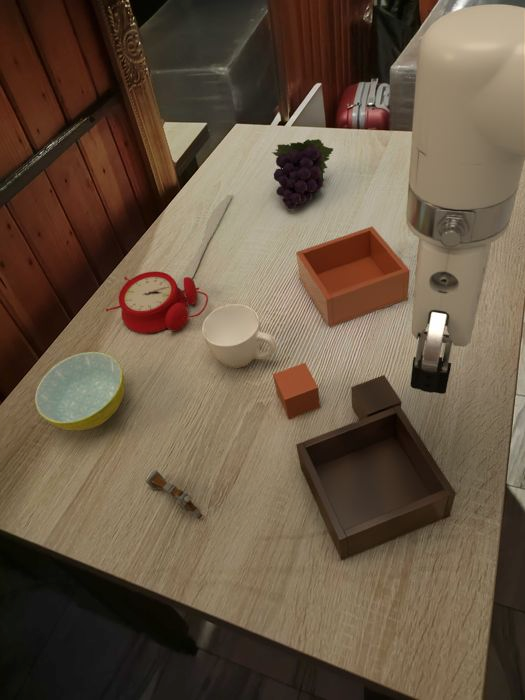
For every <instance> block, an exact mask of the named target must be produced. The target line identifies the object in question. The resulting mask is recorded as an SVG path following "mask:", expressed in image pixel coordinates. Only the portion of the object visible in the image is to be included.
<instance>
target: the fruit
mask: <svg viewBox="0 0 525 700" xmlns="http://www.w3.org/2000/svg"><path fill="white" fill-rule="evenodd" d="M276 146H277V148H276V149H275V151H273V152H271V153H272V154H273V155H274V156H275V157H276V159H275V163H276V166H277V167H278V168H276V169H275V170H274V173H273V179H274V180H275V182H278V185H280V186H278V187H277V189H276V190H275V192H276V195H278V196H280V197H282V202H283V204H284V205H285V207H286V208H287V209H288V210H290V211H291V210H294V209H295V208H296V207H297V204H298V205H304V203H305V202H308V201H310V200H312V196H313V195H312V193H318V192H319V191H320V190H322V188H323V187H324V182H325V179H324V174H326V171H325V169H328V165H327V164H326V162H327V161H329V160H330V158H329V157H331V156H330V155H332V152H333V151H334V148H333V147H327V146H325V145H324V142H322V140H321V139H319V138H317V139H311V140H310V139H306V140H305V141H303V142H300V141H297V142H290V143H287V144H284V143H283V144H277V145H276Z"/></svg>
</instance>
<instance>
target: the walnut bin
mask: <svg viewBox="0 0 525 700" xmlns="http://www.w3.org/2000/svg"><path fill="white" fill-rule="evenodd" d="M295 447H296V451H297V456H298V461H299V466H300V470H301V473H302V475H303V477H304V480H305V481H306V484H307V486H308V488H309V491H310V493H311V495H312V498H313V500H314V502H315V504H316V507H317V509H318V511H319V513H320V516H321V518H322V520H323V522H324V525H325V528H326V529H327V532H328V534H329V536H330V538H331V541H332V544H333V546H334V547H335V550H336V552H337V554H338V557H339V559H340V561H345V560H347V559H350V558H352V557H353V556H357V555H359V554H361V553H363V552H366V551H369V550H371V549H373V548H376V547H379V546H381V545H383V544H385V543H389V542H390V541H393V540H396V539H398V538H400V537H402V536H403V537H404V536H406V535H407V534H411V533H412V532H416V531H417V530H420V529H423V528H425V527H428V526H430V525H432V524H434V523H438V522H439V521H442V520H445V519H447V518H450V517H451V513H452V509H453V506H454V502H455V499H456V494H457V492H456V491H455V489H454V488H453V486H452V484H451V483H450V481H449V479H448V478H447V477H446V474H445V473H444V472H443V470H442V469H441V467H440V466H439V464H438V463H437V461H436V460H435V457H434V456H433V454H431V452H430V450H429V448H428V447H427V446H426V444H425V442H424V441H423V439H422V437H421V436H420V435H419V433H418V432H417V430H416V428H415V426H414V425H413V423H412V422H411V421H410V419H409V418H408V416H407V415H406V413H405V411H404V410H403V409H402V406H401V407H400V406H396V407H394V408H391V409H388V410H386V411H383V412H380V413H378V414H375V415H372V416H370V417H367V418H364V419H362V420H359V419H358V420H357V421H354V422H352V423H349V424H346V425H344V426H340V427H338V428H336V429H333V430H330V431H327V432H325V433H322V434H320V435H317V436H314V437H312V438H309V439H307V440H304V441H301V442H299V443H296V444H295Z"/></svg>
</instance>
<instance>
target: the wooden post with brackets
mask: <svg viewBox="0 0 525 700" xmlns="http://www.w3.org/2000/svg"><path fill="white" fill-rule="evenodd" d="M145 482H146V483H147V485H148V486H149V487H150V489H152V491H156V490H157V489H160V490H163V491H164V492H165V493H166V494H169V496H171V497H172V498H176V499H177V500H178V501H179V503H178V506H179V507H180V508H181V509H182V510H184V511H185V512H186V513H189V512H190V513H191V514H192V515H194V516H195V518H196V519H198V520H201V519H202V517H203V516H204V514H203V513H202V512H201V509H199V508H198V506H196V505H195V504H194V502H193V501H192V500H191V499H192V497H191V495H190V494H188V492H186V491H184V490H182V488H181V489H179V487H177V486H176V485H175V484H172V483H171V482H169V481H168V482H167V481H166V480H165V478H164V477H163V476H162V475H161V473H160V472H159V470H157V469H155V470H154V471H153V472H152V473H151V474H150V475H149V476H148V477H147V478H146V479H145Z"/></svg>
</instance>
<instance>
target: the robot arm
mask: <svg viewBox="0 0 525 700" xmlns="http://www.w3.org/2000/svg"><path fill="white" fill-rule="evenodd" d="M417 52H418V53H417V60H416V73H415V86H414V99H413V100H414V101H413V114H412V126H411V127H412V128H411V146H410V157H409V158H410V159H409V160H410V161H409V171H408V185H407V186H408V188H407V198H406V199H407V200H406V212H405V213H406V215H405V222H406V225H407V227H408V229H409V230H410V232H411V233H412V234H413V235H414V236H415V237H416V238H418V246H417V247H418V248H417V254H416V266H415V275H414V287H413V288H414V289H413V300H412V302H413V303H412V316H411V317H412V319H411V333H412V334H411V335H412V336H413V337H414V338H415V340H417V341H418V342H417V347H416V353H415V356H413V359H412V365H411V366H412V367H411V375H410V383H409V385H410V388H412V389H414V390H418V391H419V390H420V391H422V392H424V393H434V394H441V395H444V394H446V393H447V388H448V383H449V380H450V379H449V378H450V373H451V367H452V362H450V357H451V352H452V346H455V347H463V348H464V347H466V346H468V345H470V344H471V341H472V337H473V331H474V326H475V322H476V316H477V311H478V308H479V303H480V299H481V294H482V290H483V284H484V281H485V276H486V272H487V267H488V261H489V256H490V250H491V244H492V243H493V242H495V241H497V240H498V239H499V238H501V237H502V236H503V235H504V233H506V232H507V230H508V228H509V226H510V221H511V217H512V213H513V210H514V206H515V202H516V197H517V193H518V189H519V185H520V180H521V176H522V172H523V168H524V164H525V7H522V6H517V5H513V4H512V5H511V4H503V3H501V4H500V3H491V4H490V3H489V4H479V5H473V6H472V5H471V6H467V7H463V8H459V9H456V10H453V11H451V12H448V13H445V14H444V15H442V16H440V17H439V18H438V19H437V20H435V21H434V22H433V23H431V24H430V25H429V27H428V28H427V30H426V31H425V32H424V34H423V35H422V38H421V40H420V43H419V46H418V51H417ZM427 327H428V329H427ZM426 329H427V331H426ZM445 329H446V331H447V333H448V334H446V333H445ZM442 344H444V349H443V350H444V351H443V356H441V351H442V346H443V345H442Z"/></svg>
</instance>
